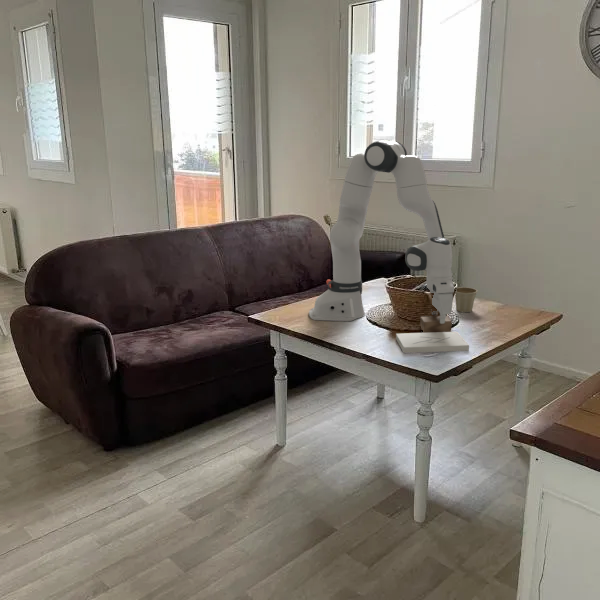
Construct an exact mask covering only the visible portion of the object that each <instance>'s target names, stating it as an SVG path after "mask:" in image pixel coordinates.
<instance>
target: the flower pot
mask: <svg viewBox="0 0 600 600" xmlns="http://www.w3.org/2000/svg"><path fill="white" fill-rule="evenodd" d="M456 288H457V292H456V295H455V294H454V298H455V309H456V311H458V312H460V313H472V311H473V307H474V302H475V298H476V295H477V293H478V291H479V290H477V289H475V288H474V287H466V286H461V287H456Z"/></svg>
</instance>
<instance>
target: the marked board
mask: <svg viewBox="0 0 600 600" xmlns="http://www.w3.org/2000/svg"><path fill="white" fill-rule="evenodd" d="M395 340H396V342H397V343H398V345H399V347H400V348H401V350H402V352H403V354H413V353H414V354H416V353H419V354H420V353H443V352H445V353H446V352H447V353H448V352H469V350H470V344H469V343H468V341H466V340H465V339H464V337H463V336H462V335H461V334H460V333H459V332H458V331H451V332H430V333H423V332H409V333H404V332H403V333H395Z"/></svg>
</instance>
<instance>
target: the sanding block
mask: <svg viewBox="0 0 600 600" xmlns="http://www.w3.org/2000/svg"><path fill="white" fill-rule="evenodd" d="M439 318H440V315H437V316H420V323H419V324H420V326H421V328H422V330H423V332H422V333H430V332H452V325H453V324H452V319H451V318H450V317H449V316H448V315H446V318H445V323H444V324H441V323H440V322H439ZM420 326H419V327H420Z"/></svg>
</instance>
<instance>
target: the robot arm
mask: <svg viewBox="0 0 600 600" xmlns="http://www.w3.org/2000/svg"><path fill="white" fill-rule="evenodd" d="M380 172H382V173H388V174H389V173H391V174H392V175H393V178H394V179H395V187H396V195H397V201H398V203H399V205H400V206H401V208H403V209H404V210H405V211H408V212H410V213H414V214H416V215H417V216H419V217H420V218H421V219H422V221H423V224H424V229H425V233H426V237H427V240H426V241H424V242H422V243H419V244H415V245H412V246H410V247H408V248H407V250H406V252H405V257H404V258H405V259H404V260H405V264H406V266H407V268H409V269H410V270H411V271H414V272H421V271H424V272H426V289H427V288H428V289H429V290H430V292H431V293H434V295H433V298H432V305H433V306H434V307H435V308H436V309H437V311H433V312H432V311H431V315H433V316H440V318H439V322H440V323H441V324H444V323H445V318H446V316H447V315H450V314H451V313H452V310H453V301H454V294H453V293H454V289H455V286H454V283H453V275H452V274H453V273H452V265H453V248H452V243H451V241H450V240H449V239H448V238H446V237H445V235H444V231H443V227H442V222H441V218H440V215H439V211H438V208H437V205H436V202H435V201H434V200H433V199H432V197H431V194H430V192H429V188H428V182H427V175H426V171H425V167H424V165H423V161H422V159H421V158H420V157H419V156H417V155H411V154H409V155H408V152H407V149H406V147H405V146H404V145H403V144H402V143H400V142H398V141H394V140H390V139H388V140H387V139H386V140H376V141H374V142H371V143H370V144H369V145H368V146H367V147H366V149H365V150H364V153H357V154H355V155H353V156H352V157H351V160H350V163H349V165H348V167H347V169H346V173H345V176H344V181H343V185H342V190H341V194H340V197H339V209H338V216H337V219H336V223H334V224H333V225H332V227H331V229H330V232H329V241H330V249H331V254H332V255H331V256H332V275H333V276H332V278H333V279H332V280H331V279H327V280H326V285H327V290H326V291H324V292H323V293H321V294H320V295H319V296H318V297H317V298H316V299H315V303H314V307H313V308H311V309H309V311H308V317H309V318H310V319H312V320H314V321H332V322H333V321H334V322H335V321H336V322H337V321H339V322H352V321H354V320H356V319H359V318H362V317H364V316H365V315H366V313H365V309H364V305H363V299H362V298H363V297H362V294H363V280H362V259H361V254H360V239H361V238H362V237H363V234H364V230H365V226H366V220H367V214H368V210H369V209H368V207H369V203H370V199H371V195H372V191H373V186H374V183H375V179H376V176H377V174H378V173H380ZM438 314H439V315H438Z"/></svg>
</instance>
